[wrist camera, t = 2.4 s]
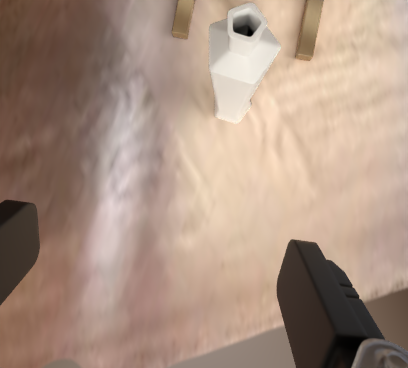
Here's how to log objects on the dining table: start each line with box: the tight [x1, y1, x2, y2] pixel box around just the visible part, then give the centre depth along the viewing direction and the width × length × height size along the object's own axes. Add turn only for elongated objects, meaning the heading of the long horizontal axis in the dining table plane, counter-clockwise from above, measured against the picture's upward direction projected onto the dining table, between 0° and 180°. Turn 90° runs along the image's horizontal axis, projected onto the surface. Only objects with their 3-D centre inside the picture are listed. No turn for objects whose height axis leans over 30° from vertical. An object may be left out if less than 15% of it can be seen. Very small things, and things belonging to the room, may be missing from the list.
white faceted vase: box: [209, 3, 281, 124], centre depth 24 cm, size 5×4×15 cm
